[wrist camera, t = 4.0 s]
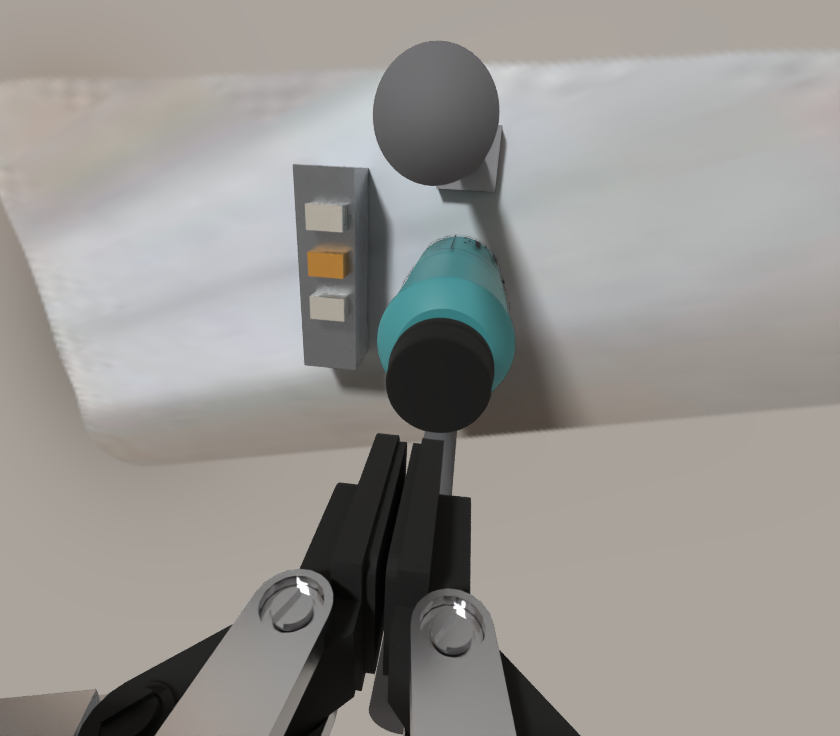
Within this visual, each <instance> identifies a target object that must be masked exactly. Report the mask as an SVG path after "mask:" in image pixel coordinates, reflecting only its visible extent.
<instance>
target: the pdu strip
mask: <svg viewBox="0 0 840 736" xmlns="http://www.w3.org/2000/svg"><path fill="white" fill-rule="evenodd" d="M368 171H369V168H356V167H339V166H322V165H297V164H293V176H294V193H295V210H296V228H297V245H298V262H299V279H300V296H301V313H302V330H303V347H304V364H305V365H308V366H318V367H328V368H338V369H348V370H356V369H357V367H358V366H359V364H360V362H361V361H362V359H363V358H364V356H365V354H366V353H367V351H368Z"/></svg>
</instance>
